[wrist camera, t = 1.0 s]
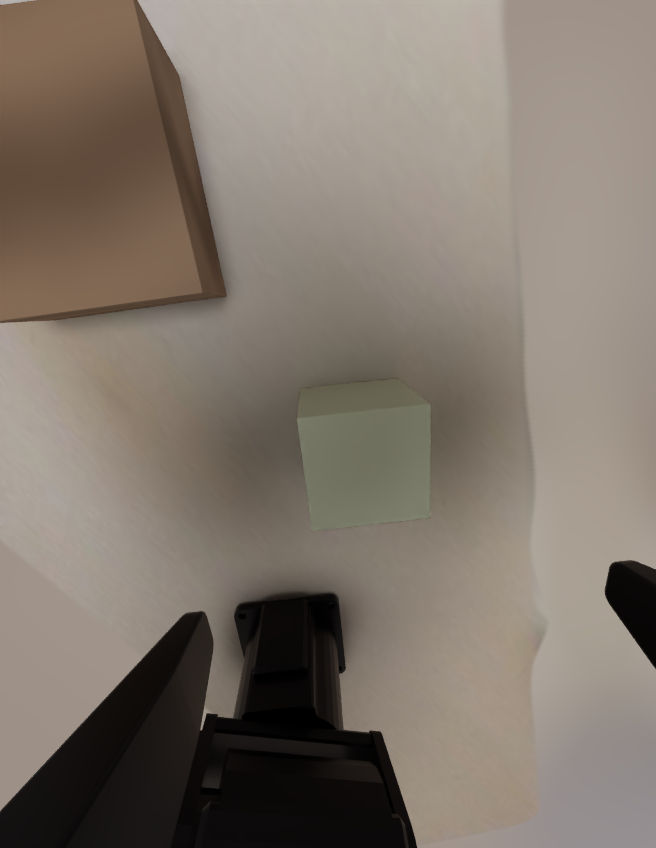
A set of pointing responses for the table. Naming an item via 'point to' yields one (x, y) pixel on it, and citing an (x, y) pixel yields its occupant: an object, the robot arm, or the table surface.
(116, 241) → the walnut block
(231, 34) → the table surface
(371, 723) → the table surface
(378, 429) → the sage cube
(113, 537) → the table surface
